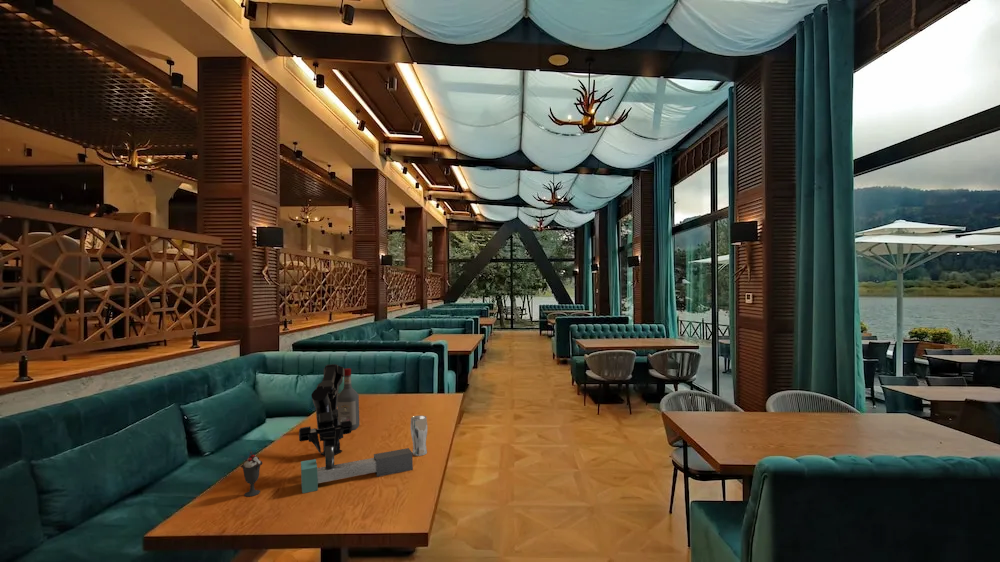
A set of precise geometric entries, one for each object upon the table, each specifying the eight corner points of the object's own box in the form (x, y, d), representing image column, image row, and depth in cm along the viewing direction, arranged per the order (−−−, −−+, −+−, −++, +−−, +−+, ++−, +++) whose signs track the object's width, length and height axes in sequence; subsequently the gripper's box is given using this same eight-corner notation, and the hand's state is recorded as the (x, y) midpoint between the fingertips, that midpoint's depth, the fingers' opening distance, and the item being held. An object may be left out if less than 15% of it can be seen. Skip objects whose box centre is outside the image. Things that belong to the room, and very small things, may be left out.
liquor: (354, 431, 229) (353, 370, 230) (336, 431, 229) (334, 370, 230) (360, 425, 238) (359, 367, 239) (343, 426, 238) (341, 367, 239)
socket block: (316, 480, 169) (315, 458, 169) (317, 490, 161) (317, 467, 161) (301, 483, 167) (300, 461, 167) (302, 493, 159) (301, 470, 159)
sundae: (248, 499, 155) (247, 454, 156) (237, 495, 159) (236, 451, 159) (267, 491, 161) (266, 448, 161) (256, 488, 164) (255, 445, 165)
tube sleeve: (409, 464, 182) (408, 448, 182) (412, 469, 176) (412, 452, 177) (374, 471, 176) (373, 454, 176) (377, 476, 171) (376, 459, 171)
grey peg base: (378, 467, 176) (377, 437, 176) (380, 471, 172) (379, 440, 173) (307, 481, 165) (306, 448, 166) (308, 485, 162) (307, 452, 162)
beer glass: (424, 456, 190) (423, 420, 190) (408, 456, 191) (407, 419, 192) (430, 450, 197) (429, 415, 197) (415, 450, 198) (414, 415, 199)
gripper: (298, 406, 172) (301, 445, 162) (350, 399, 180) (356, 435, 170) (297, 422, 179) (300, 460, 169) (348, 414, 187) (353, 450, 177)
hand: (328, 451), depth 171 cm, fingers open, 5 cm apart
